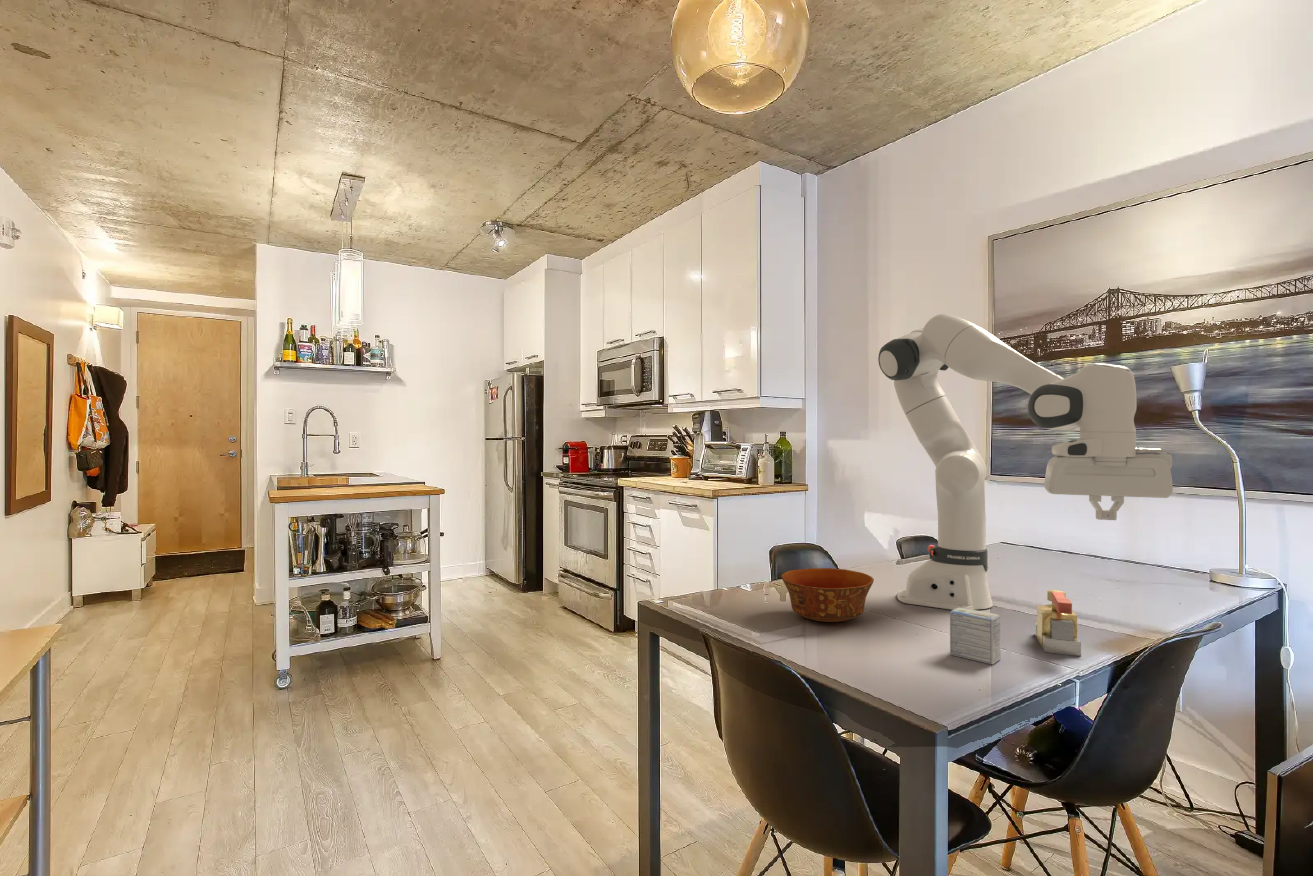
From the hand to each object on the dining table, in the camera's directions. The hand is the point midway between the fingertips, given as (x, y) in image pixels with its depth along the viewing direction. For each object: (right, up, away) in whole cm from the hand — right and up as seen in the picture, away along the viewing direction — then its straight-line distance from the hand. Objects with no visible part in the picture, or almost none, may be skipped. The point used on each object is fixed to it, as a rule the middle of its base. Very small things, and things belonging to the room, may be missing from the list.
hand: (1105, 519), depth 121 cm
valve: (-4, -27, +8) cm, 28 cm away
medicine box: (-25, -27, 0) cm, 37 cm away
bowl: (-46, -27, +27) cm, 60 cm away
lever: (-6, -18, +4) cm, 19 cm away
